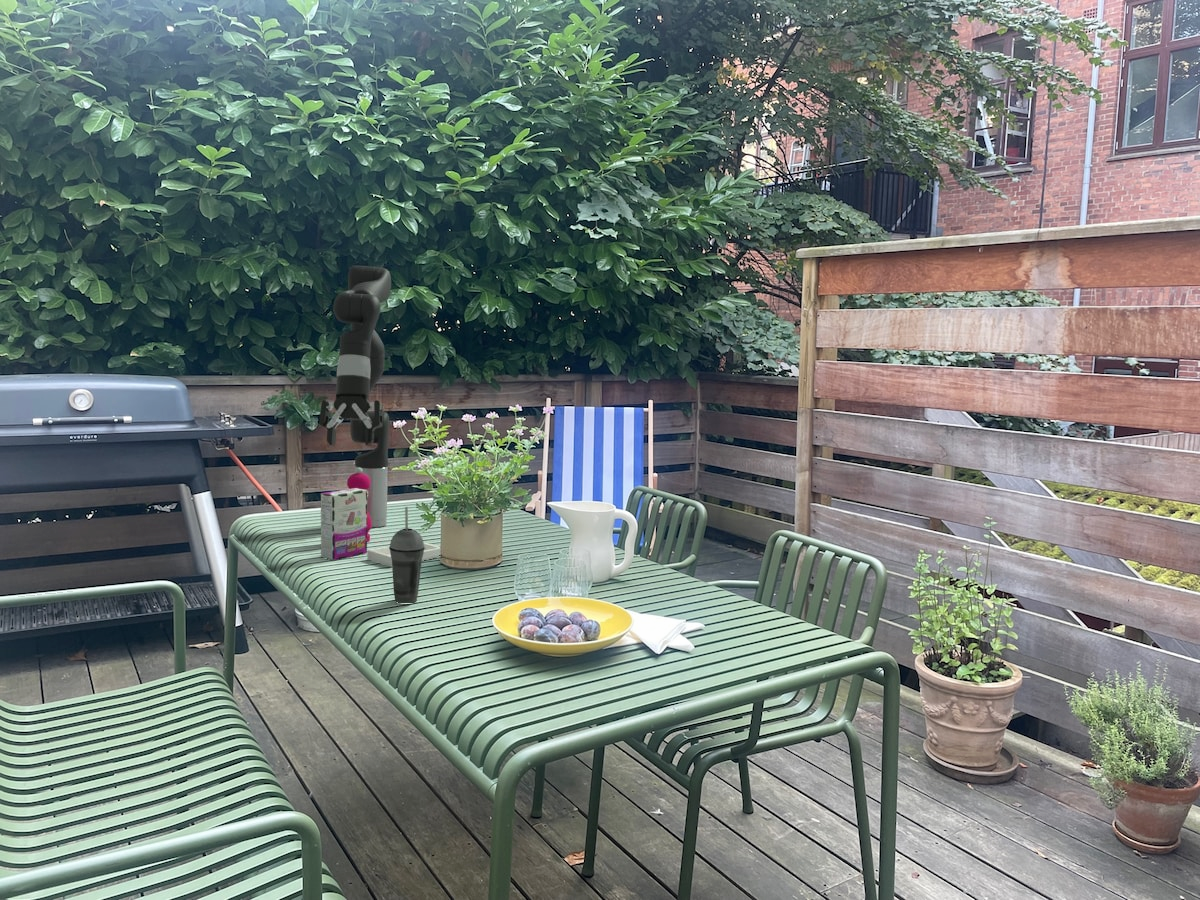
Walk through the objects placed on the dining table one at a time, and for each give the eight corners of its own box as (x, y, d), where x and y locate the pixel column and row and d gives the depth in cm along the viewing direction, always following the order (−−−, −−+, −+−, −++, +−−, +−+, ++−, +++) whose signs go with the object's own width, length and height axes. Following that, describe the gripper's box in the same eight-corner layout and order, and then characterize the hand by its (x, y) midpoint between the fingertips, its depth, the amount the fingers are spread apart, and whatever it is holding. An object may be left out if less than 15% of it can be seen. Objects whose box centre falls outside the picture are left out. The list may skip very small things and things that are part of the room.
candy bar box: (353, 550, 227) (354, 487, 225) (367, 553, 225) (368, 489, 223) (319, 557, 218) (319, 492, 216) (333, 561, 215) (333, 495, 213)
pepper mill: (367, 544, 234) (368, 470, 231) (340, 543, 234) (341, 468, 231) (374, 538, 241) (376, 466, 238) (348, 537, 241) (349, 464, 239)
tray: (367, 559, 218) (367, 550, 218) (418, 549, 231) (418, 540, 230) (392, 567, 212) (392, 557, 212) (443, 557, 224) (444, 547, 224)
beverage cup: (392, 608, 181) (395, 512, 178) (384, 598, 187) (386, 505, 185) (427, 604, 184) (430, 510, 182) (417, 595, 190) (420, 504, 188)
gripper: (388, 380, 210) (385, 447, 208) (329, 380, 211) (325, 447, 209) (378, 373, 202) (374, 443, 200) (317, 373, 203) (313, 443, 201)
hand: (349, 445), depth 204 cm, fingers open, 8 cm apart
